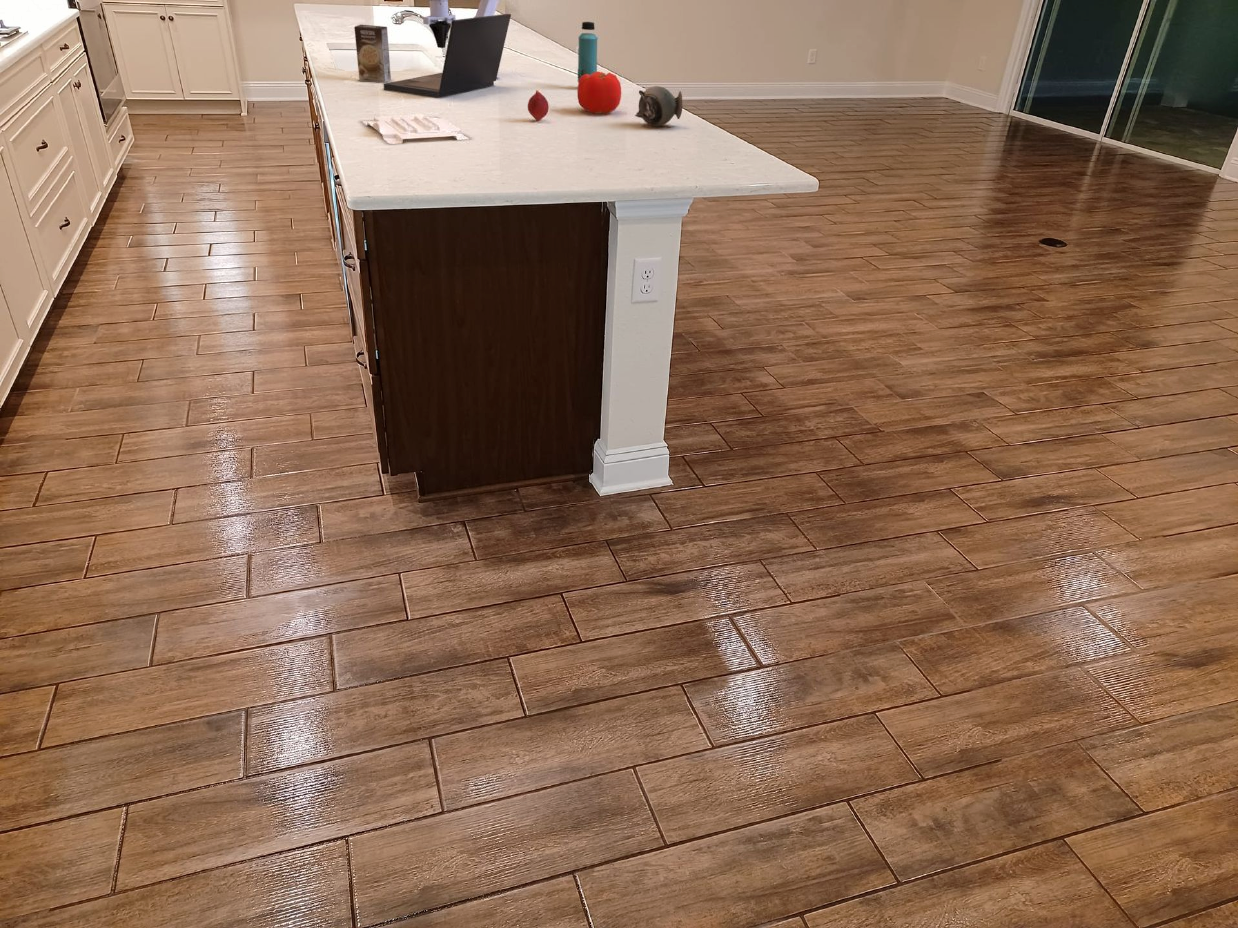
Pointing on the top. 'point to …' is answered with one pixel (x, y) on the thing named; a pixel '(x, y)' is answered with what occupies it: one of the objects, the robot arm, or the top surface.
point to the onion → (538, 106)
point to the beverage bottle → (587, 51)
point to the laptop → (428, 86)
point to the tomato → (599, 92)
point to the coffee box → (372, 53)
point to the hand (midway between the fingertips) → (441, 47)
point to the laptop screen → (474, 51)
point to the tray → (413, 127)
